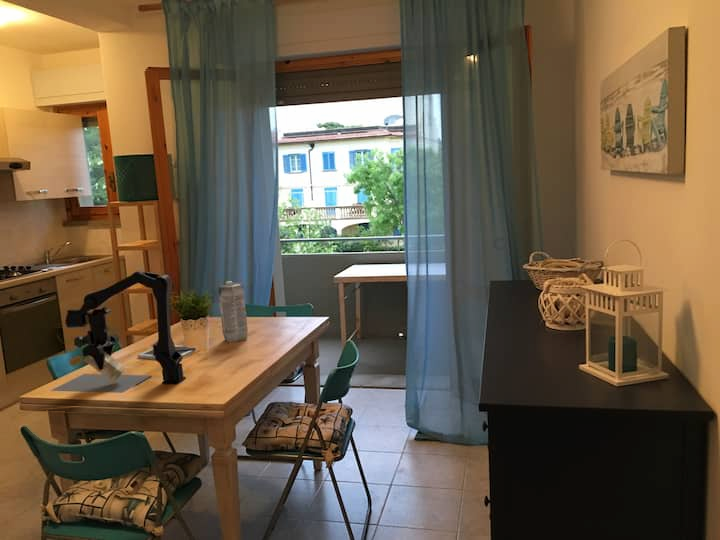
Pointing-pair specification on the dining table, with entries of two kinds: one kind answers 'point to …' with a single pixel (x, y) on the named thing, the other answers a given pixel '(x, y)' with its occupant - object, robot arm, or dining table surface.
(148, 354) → the picture frame
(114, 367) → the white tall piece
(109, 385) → the rubber mat
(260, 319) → the dining table surface
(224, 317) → the juice carton
